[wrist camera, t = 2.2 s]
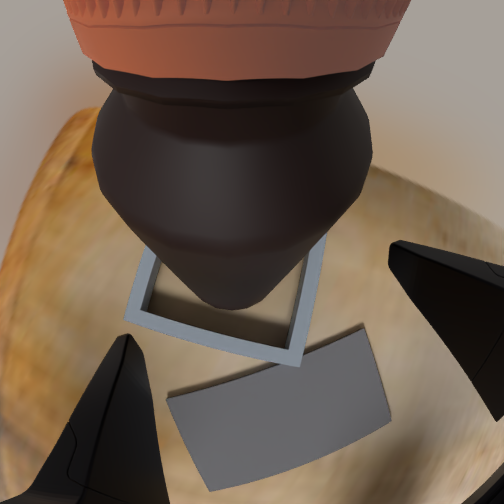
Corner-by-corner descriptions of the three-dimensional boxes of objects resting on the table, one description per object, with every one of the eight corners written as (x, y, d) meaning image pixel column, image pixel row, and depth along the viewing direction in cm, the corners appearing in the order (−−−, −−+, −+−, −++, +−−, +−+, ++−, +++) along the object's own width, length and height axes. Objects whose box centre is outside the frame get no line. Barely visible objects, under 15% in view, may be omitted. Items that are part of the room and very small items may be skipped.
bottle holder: (325, 209, 22) (331, 201, 20) (294, 364, 18) (299, 367, 17) (179, 174, 22) (176, 164, 20) (130, 320, 19) (123, 319, 17)
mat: (389, 419, 17) (391, 420, 17) (210, 489, 15) (209, 491, 15) (361, 328, 19) (364, 328, 19) (166, 398, 17) (165, 399, 17)
